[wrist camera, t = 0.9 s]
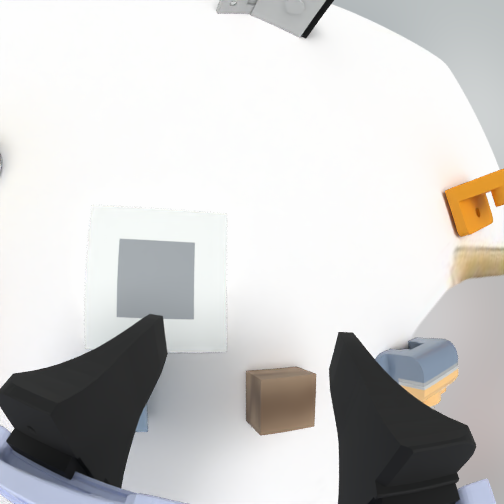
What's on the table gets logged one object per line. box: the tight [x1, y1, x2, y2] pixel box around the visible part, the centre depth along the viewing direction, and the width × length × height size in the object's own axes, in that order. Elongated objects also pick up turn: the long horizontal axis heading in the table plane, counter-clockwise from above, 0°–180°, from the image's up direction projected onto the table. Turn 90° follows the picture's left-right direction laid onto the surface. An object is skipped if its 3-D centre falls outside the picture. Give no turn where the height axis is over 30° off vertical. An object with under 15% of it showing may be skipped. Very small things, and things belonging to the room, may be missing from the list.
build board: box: [84, 205, 227, 353], centre depth 25 cm, size 12×12×1 cm
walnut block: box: [246, 367, 316, 435], centre depth 26 cm, size 5×5×4 cm
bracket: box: [445, 169, 504, 237], centre depth 36 cm, size 11×7×12 cm, turn 108°
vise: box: [375, 338, 458, 409], centre depth 29 cm, size 18×10×7 cm, turn 10°
